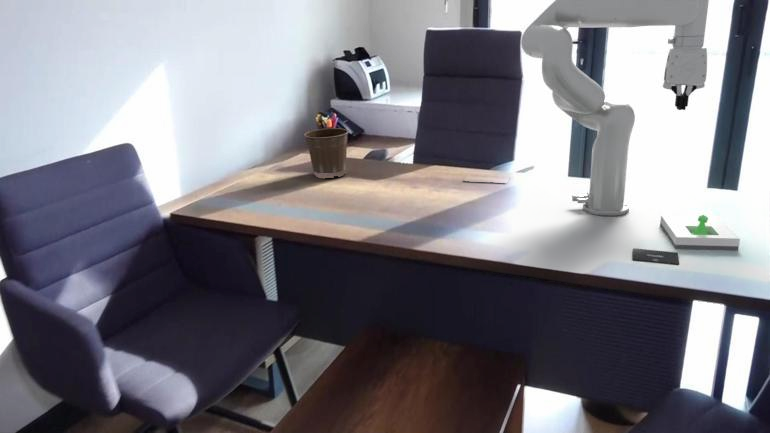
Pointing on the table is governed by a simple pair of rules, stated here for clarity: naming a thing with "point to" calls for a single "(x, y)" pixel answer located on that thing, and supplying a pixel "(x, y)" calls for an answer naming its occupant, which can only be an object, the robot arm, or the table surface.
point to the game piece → (701, 226)
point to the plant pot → (327, 149)
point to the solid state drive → (655, 256)
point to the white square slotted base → (682, 238)
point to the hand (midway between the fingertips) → (680, 109)
